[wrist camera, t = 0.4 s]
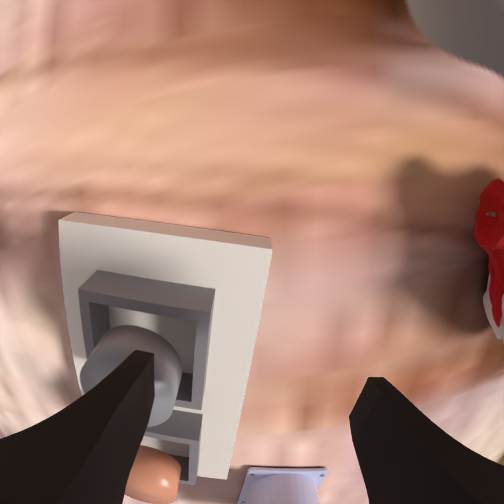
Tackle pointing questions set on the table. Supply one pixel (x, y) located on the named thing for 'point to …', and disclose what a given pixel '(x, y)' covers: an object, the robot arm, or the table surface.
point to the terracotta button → (153, 477)
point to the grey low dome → (120, 347)
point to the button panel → (172, 318)
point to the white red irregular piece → (493, 251)
